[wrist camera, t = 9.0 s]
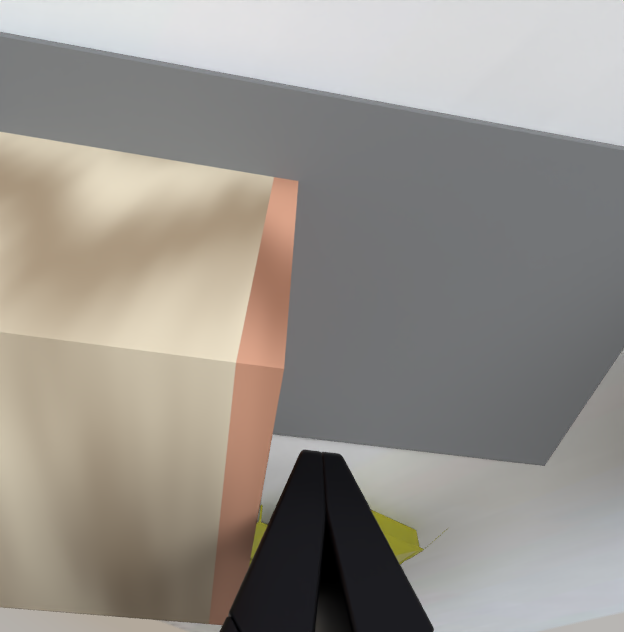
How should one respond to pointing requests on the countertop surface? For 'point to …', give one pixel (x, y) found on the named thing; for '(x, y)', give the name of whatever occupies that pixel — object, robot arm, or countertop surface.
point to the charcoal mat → (385, 244)
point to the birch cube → (136, 377)
